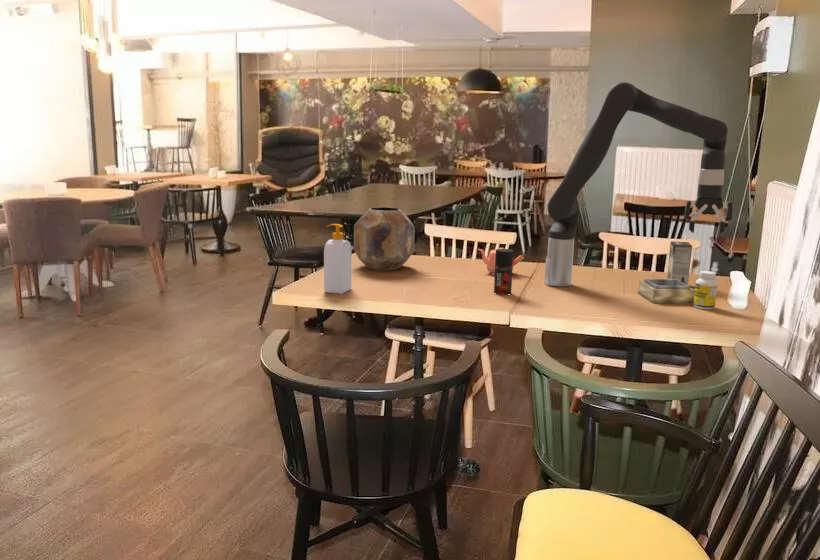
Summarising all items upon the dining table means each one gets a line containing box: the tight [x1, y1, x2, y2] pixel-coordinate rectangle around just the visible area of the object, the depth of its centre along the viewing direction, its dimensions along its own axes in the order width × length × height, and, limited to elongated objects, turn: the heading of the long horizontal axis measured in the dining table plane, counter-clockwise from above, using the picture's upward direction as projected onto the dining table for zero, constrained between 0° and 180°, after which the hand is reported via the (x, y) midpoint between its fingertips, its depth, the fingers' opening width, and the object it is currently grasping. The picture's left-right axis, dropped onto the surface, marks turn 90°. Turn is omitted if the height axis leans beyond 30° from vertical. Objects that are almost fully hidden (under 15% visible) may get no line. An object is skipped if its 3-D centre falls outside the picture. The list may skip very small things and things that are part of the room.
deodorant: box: [493, 248, 514, 296], centre depth 233 cm, size 6×6×15 cm
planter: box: [353, 206, 416, 272], centre depth 273 cm, size 22×24×24 cm
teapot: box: [477, 247, 524, 275], centre depth 268 cm, size 14×12×10 cm
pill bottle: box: [693, 270, 719, 310], centre depth 219 cm, size 6×6×12 cm
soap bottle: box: [323, 223, 352, 295], centre depth 231 cm, size 9×7×23 cm
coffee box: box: [666, 241, 693, 285], centre depth 250 cm, size 9×6×16 cm
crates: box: [637, 278, 695, 305], centre depth 231 cm, size 14×14×6 cm
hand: (706, 232), depth 224 cm, fingers open, 8 cm apart
